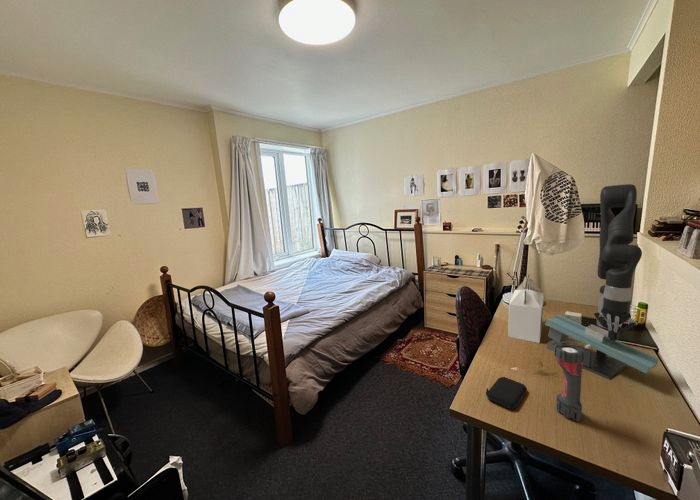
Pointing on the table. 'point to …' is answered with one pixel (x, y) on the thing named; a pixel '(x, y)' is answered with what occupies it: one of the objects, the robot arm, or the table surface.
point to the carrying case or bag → (506, 392)
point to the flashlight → (570, 379)
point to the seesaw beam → (600, 344)
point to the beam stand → (597, 361)
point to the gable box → (526, 312)
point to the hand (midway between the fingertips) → (613, 339)
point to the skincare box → (573, 318)
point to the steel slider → (596, 333)
